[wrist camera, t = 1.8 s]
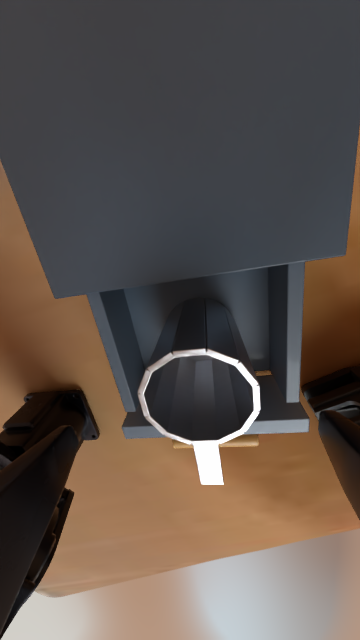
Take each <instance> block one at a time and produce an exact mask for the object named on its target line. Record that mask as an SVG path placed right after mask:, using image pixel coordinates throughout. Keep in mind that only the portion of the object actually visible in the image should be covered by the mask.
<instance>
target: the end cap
mask: <svg viewBox="0 0 360 640" xmlns="http://www.w3.org/2000/svg"><path fill="white" fill-rule="evenodd" d="M301 390H302V393H303V395H304V397H305V398H306V400H307V402H308V403H309V405H310V407H311V409H312V410H313V412H314V414H315V416H316V417H317V419H318V421H319V414H320V412H321V411H322V410H335V411H337V412H339V413H340V414H342V415H343V416H345V417H346V418H348V419H349V420H351V421H352V422H354V423H355V424H357V425H359V426H360V366H355V367H350V368H346V369H342V370H340V371H337V372H335V373H332V374H330V375H328V376H325V377H323V378H320V379H318V380H315V381H313V382H310V383H308V384H306V385H304V386H303V387H302V389H301Z"/></svg>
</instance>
